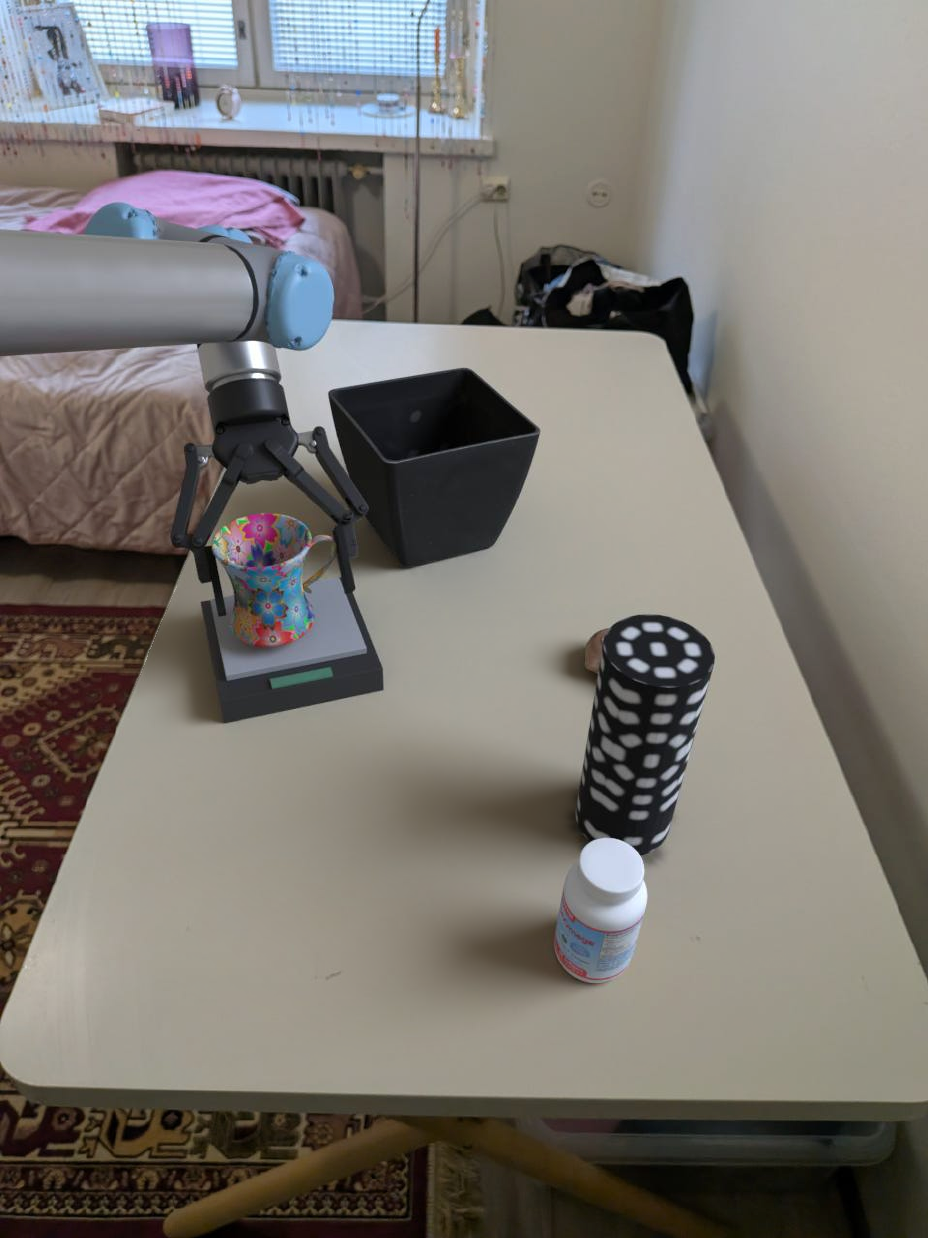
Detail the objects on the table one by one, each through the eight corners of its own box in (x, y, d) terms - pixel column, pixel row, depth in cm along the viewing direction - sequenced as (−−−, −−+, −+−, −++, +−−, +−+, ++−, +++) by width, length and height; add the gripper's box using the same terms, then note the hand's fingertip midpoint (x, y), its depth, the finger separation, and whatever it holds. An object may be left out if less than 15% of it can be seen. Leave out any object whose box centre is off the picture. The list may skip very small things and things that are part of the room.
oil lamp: (572, 698, 95) (649, 717, 93) (575, 673, 92) (655, 692, 90) (589, 636, 101) (663, 653, 99) (593, 611, 98) (669, 627, 96)
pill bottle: (540, 930, 73) (553, 842, 66) (608, 906, 75) (627, 818, 68) (575, 998, 69) (593, 912, 62) (646, 971, 71) (671, 885, 64)
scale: (224, 723, 90) (218, 695, 87) (204, 622, 101) (199, 595, 99) (383, 690, 94) (382, 662, 92) (347, 596, 106) (345, 570, 103)
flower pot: (464, 479, 126) (468, 362, 115) (533, 553, 113) (545, 429, 102) (333, 510, 119) (324, 389, 109) (390, 592, 106) (386, 464, 96)
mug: (242, 666, 89) (227, 578, 83) (215, 611, 96) (199, 526, 89) (357, 632, 94) (352, 546, 87) (325, 581, 100) (318, 497, 93)
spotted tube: (677, 857, 79) (726, 688, 66) (581, 856, 79) (611, 687, 66) (660, 782, 86) (701, 614, 73) (570, 781, 85) (596, 613, 73)
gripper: (358, 387, 98) (399, 586, 97) (121, 416, 92) (162, 629, 90) (368, 360, 91) (413, 575, 90) (112, 389, 85) (156, 621, 83)
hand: (287, 603), depth 90 cm, fingers closed on mug, 12 cm apart
